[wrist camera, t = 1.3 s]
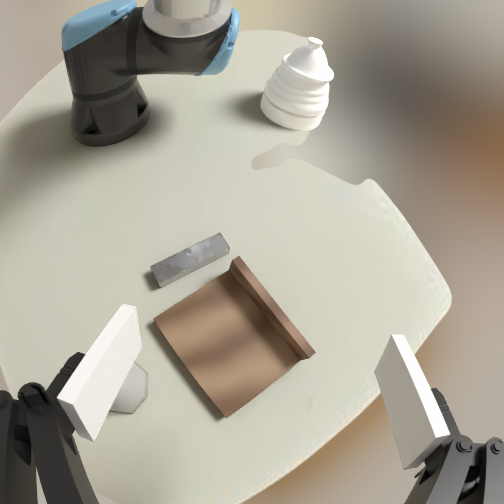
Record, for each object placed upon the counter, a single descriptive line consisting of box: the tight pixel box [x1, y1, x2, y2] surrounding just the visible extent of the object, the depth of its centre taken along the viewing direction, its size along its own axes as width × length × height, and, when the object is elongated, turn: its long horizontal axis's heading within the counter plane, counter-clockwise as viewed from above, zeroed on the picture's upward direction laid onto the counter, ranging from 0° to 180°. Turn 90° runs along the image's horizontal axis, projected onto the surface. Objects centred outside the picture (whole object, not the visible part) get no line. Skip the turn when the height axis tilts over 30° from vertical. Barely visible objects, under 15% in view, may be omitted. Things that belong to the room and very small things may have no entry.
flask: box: [110, 361, 148, 414], centre depth 25 cm, size 7×7×10 cm
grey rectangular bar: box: [150, 233, 230, 288], centre depth 37 cm, size 2×10×2 cm, turn 123°
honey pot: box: [260, 37, 334, 131], centre depth 47 cm, size 13×13×18 cm
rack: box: [153, 256, 316, 418], centre depth 32 cm, size 14×12×4 cm
